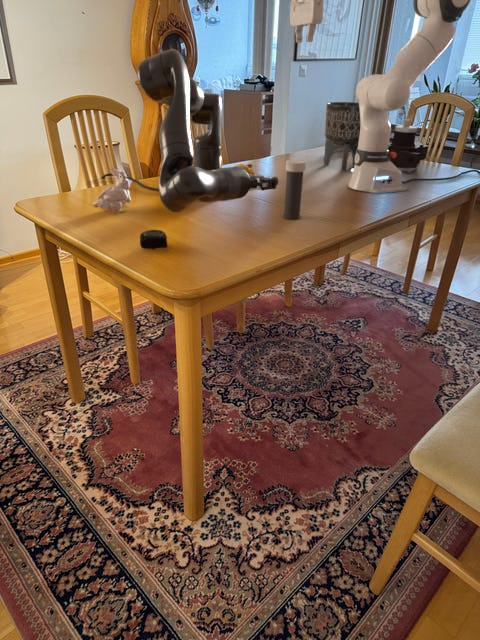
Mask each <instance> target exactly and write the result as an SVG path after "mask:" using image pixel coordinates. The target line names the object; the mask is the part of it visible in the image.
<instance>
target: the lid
mask: <svg viewBox="0 0 480 640" xmlns="http://www.w3.org/2000/svg"><path fill="white" fill-rule="evenodd" d="M306 164H307V162H306V160H302V159H287V160H285V168H284V169H285V171H286V172H287V171H290V172H303V173H304V172H305V171H306Z"/></svg>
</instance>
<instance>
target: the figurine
mask: <svg viewBox="0 0 480 640" xmlns="http://www.w3.org/2000/svg"><path fill="white" fill-rule="evenodd" d="M108 171H109V172H110V174H112V175H113V176H112V177H114V178H115V185H109V186H107V187H106V188H105V189H104V190H103V191H102V192H101V193H100V195H98V196H97V198H96V199H97V200H96V201H94V202H92V206H93V207H94V208H100V209H102V210H105V211H110V212H116V213H118V212H119V213H120V212H124V210H123V209H122V207H126V203H128V204H129V203H131V202H132V198H131V196H130V195H131V194H130V193H131V192H130V188H131V184H132V183H133V181H132V180H129V179H127V178H126V177H127V175H126V173H125V172H124V171H123V170H121V169H120V168H117V169H116V168H114V167H111V168H109V169H108ZM120 176H121V177H122V178H120Z"/></svg>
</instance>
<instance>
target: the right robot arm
mask: <svg viewBox="0 0 480 640" xmlns="http://www.w3.org/2000/svg"><path fill="white" fill-rule="evenodd" d="M412 1H413V3H412V4H413V10H414V12H415V14H416V15H417V16H418V17H420V18H422V19H426V20H425V22H424V24H423V26H422V27H421V29H420V30H418V31H417V32H416V34H415V35H413V37H411V38H410V40H409V41H408V42H407V43H406V44H405V45H404V46H403V47H402V48H401V49H400V50H399V51H398V52H397V53H396V55H395V58H394V62H393V64H392V66H391V67H390V68H389V69H388V71H386V73H384V74H377V73H374V74H373V73H372V74H370V75H368V76H365V77H363V78H362V79H361V80H359V82H358V83H357V85H356V89H355V97H356V99H357V101H358V102H357V103H359V109H360V135H359V142H358V148H357V149H356V155H355V166H353V168H351V169H350V172H352V174H351V176H350V180H349V182H348V184H347V187H348V188H350V189H352V190H355V191H359V192H367V193H372V194H386V193H387V194H388V193H393V192H394V193H395V192H404V191H408V186H406V184H407V183H409V182H410V183H411V182H414V181H415V182H417V181H420V182H421V181H425V182H433V181H448V180H453V179H456V178H458V177H460V176H461V175H465V174H468V173H473V172H475V173H477V174H478V175H480V170H478V169H470V170H469V169H468V170H466V171H462V172H460V173H458V174H456V175H453V176H449V177H438V178H437V177H433V178H421V177H420V178H410V179H408V180H405V181H403V173H402V171H400V170H399V169H398V168H397V167H396V166H395V165H394V164H393V163H392V162H391V161H390V157H392V158H395V157H396V156H397V154H395V152H390V151H388V145H389V143H390V139H391V135H392V134H391V133H392V126H391V123H390V122H389V112H392V111H397V110H400V109H402V108H403V107H405V105H406V104H407V103H408V101H409V99H410V97H411V89H412V88H413V86H414V85H415V83H416V82H417V80H418V79H419V78H420V76H422V74H424V72H425V71H426V70H427V69H429V67H430V66H431V65H432V64H433V63H434V62H435V61H436V60H437V59H438V58H439V57H440V55H442V53H443V52H444V51H445V50H446V49H447V48H448V46H449V45H450V43H451V42H452V40H453V39H454V37H455V33H456V27H455V24H454V23H455V22H456V21H458V20H460V19H461V18H462V17H463V14H464V11H466V9H467V8H468V6H469V5H470V2H471V0H412ZM324 4H325V2H324V0H290V4H289V5H290V6H289V23H290V27H293V28H294V32H295V42H296V44H298V43H300V44H302V43H303V38H304V36H303V30H304V29H303V28H304V27H307V34H306V37H305V42H306V43H313V41H314V35H315V32H316V30H317V25H321V24H322V22H323V19H324Z"/></svg>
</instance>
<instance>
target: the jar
mask: <svg viewBox="0 0 480 640" xmlns="http://www.w3.org/2000/svg"><path fill="white" fill-rule="evenodd" d="M303 180H304V171H303V172H290V171H287V170H286V177H285V193H284V207H283V219H286V220H291V221H292V220H293V221H295V220H299V219H300V214H301V203H302V193H303V192H302V191H303V182H304V181H303Z"/></svg>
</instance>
